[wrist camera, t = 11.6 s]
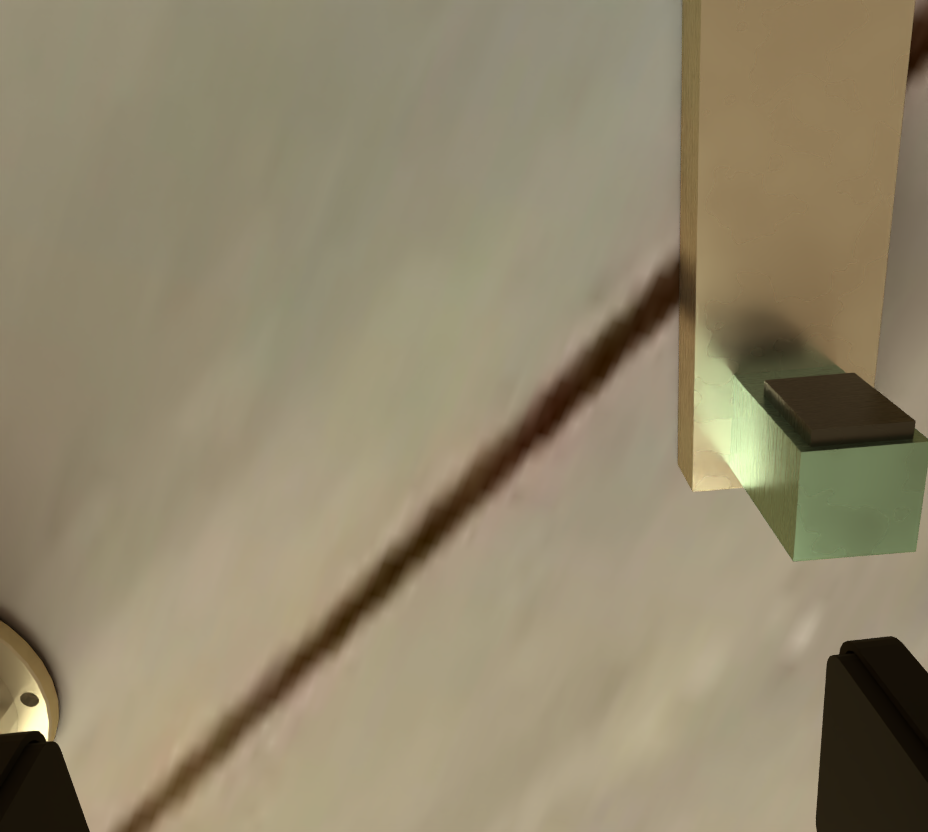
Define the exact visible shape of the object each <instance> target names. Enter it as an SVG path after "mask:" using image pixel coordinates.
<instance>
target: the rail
mask: <svg viewBox="0 0 928 832" xmlns="http://www.w3.org/2000/svg"><path fill="white" fill-rule="evenodd" d="M914 7H915V0H682V93H681V193H680V292H679V391H678V466H679V468H680V470H681V472H682V473H683V475H684V477H685V479H686V481H687V483H688V484H689V486H690V488H691V490H692V492H694V491H706V490H718V489H730V488H742V487H744V489H745V490H746V492H747V493H748V495H749V496H750V498H751V499H752V501H753V502H754V504H755V505H756V507H757V508H758V510H759V511H760V513H761V514H762V516H763V517H764V519H765V520H766V522H767V523H768V525H769V526H770V527H771V529H772V530H773V532H774V533H775V535H776V536H777V538H778V539H779V541H780V542H781V544H782V545H783V547H784V548H785V550H786V551H787V553H788V554H789V556H790V557H791V559H792V560H793V561H805V560H818V559H830V558H842V557H855V556H867V555H880V554H892V553H904V552H916V547H917V539H918V532H919V525H920V518H921V510H922V503H923V496H924V489H925V482H926V474H927V467H928V438H926V437H925V436H924V435H923V434H921V433H920V432H919V431H918V430H916V429H915V420H914V419H912V418H911V417H910V416H909V415H907V414H906V413H905V412H904V411H902V410H901V409H900V408H899V407H897V406H896V405H895V404H893V403H892V402H891V401H890V400H888V399H887V398H886V397H885V396H883V395H882V394H881V393H880V392H878V391H877V390H876V389H874V381H875V372H876V363H877V353H878V344H879V335H880V325H881V316H882V306H883V297H884V288H885V278H886V269H887V260H888V250H889V241H890V232H891V222H892V213H893V203H894V194H895V185H896V175H897V166H898V157H899V147H900V138H901V129H902V119H903V110H904V100H905V91H906V82H907V72H908V63H909V54H910V44H911V35H912V26H913V16H914Z"/></svg>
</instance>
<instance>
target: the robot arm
mask: <svg viewBox="0 0 928 832" xmlns="http://www.w3.org/2000/svg"><path fill="white" fill-rule="evenodd" d="M58 721H59V708H58V698H57V694H56V691H55V688H54V684H53V681H52V679H51V677H50V675H49V673H48V671H47V669H46V668H45V666H44V664H43V662H42V660H41V659H40V658H39V657H38V655H37V654H36V653H35V652H34V651H33V649H32V648H31V647H30V646H29V644H28V643H27V642H26V641H25V640H24V639H23V638H21V637H20V636H19V635H18V634H17V633H16V632H15V631H14V630H13V629H11V628H10V627H9V626H8V625H6V624H5V623H3V622H2V621H0V832H90V831H89V828H88V826H87V823H86V820H85V817H84V814H83V811H82V809H81V806H80V803H79V800H78V797H77V794H76V792H75V789H74V786H73V783H72V780H71V777H70V775H69V772H68V769H67V766H66V763H65V760H64V758H63V755H62V752H61V749H60V747H59V745H58V744H57V743H56V742H54V741H53V740H54V738H55V735H56V731H57V726H58ZM816 828H817V832H928V673H927V671H926V670H925V669H924V668H923V667H922V666H921V664H920V663H919V662H918V661H917V660H916V659H915V657H914V656H913V655H912V654H911V653H910V652H909V650H908V649H907V648H906V647H905V646H904V644H903V643H902V642H900V641H899V640H898V639H897V638H895V637H892V636H889V637H880V638H871V639H862V640H853V641H847V642H844V643H843V644H842V646H841V648H840V653H839V655H832V656H830V657H829V659H828V661H827V669H826V683H825V697H824V711H823V725H822V739H821V753H820V767H819V781H818V796H817V810H816Z"/></svg>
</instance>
